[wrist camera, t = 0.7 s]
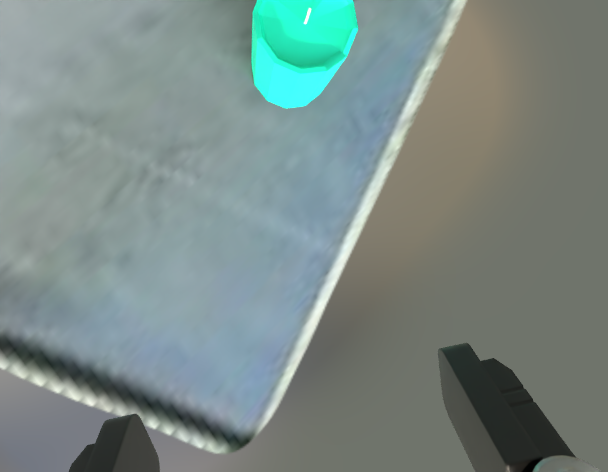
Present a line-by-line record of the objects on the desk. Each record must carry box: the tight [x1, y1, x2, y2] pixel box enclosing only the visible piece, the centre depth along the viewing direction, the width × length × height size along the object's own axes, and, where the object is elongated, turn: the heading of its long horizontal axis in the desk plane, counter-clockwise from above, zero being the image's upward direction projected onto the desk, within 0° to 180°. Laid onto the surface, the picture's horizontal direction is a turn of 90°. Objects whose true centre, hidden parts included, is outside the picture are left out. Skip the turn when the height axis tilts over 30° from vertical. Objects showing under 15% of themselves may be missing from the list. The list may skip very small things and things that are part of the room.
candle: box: [251, 0, 358, 108], centre depth 31 cm, size 6×6×12 cm
